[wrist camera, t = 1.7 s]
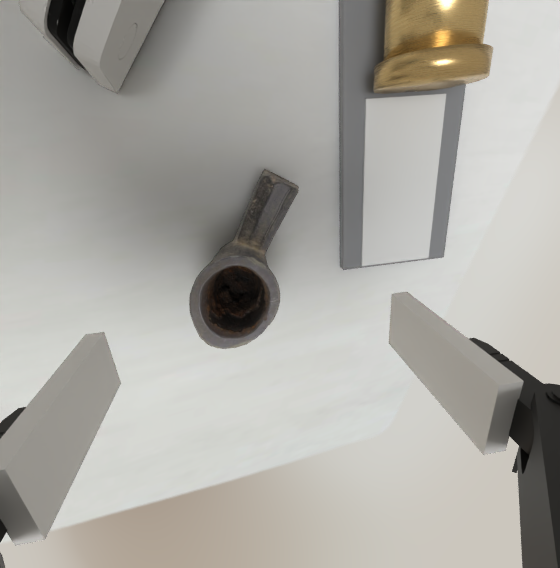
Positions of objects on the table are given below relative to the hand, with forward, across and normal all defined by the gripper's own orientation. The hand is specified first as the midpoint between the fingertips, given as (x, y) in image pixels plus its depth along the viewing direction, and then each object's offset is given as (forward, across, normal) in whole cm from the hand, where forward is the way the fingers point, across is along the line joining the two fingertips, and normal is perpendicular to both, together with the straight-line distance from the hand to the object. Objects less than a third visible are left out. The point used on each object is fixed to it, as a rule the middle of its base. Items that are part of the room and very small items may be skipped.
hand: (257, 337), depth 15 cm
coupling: (+15, +14, +16) cm, 26 cm away
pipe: (+15, 0, +1) cm, 15 cm away
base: (+15, +14, +8) cm, 22 cm away
